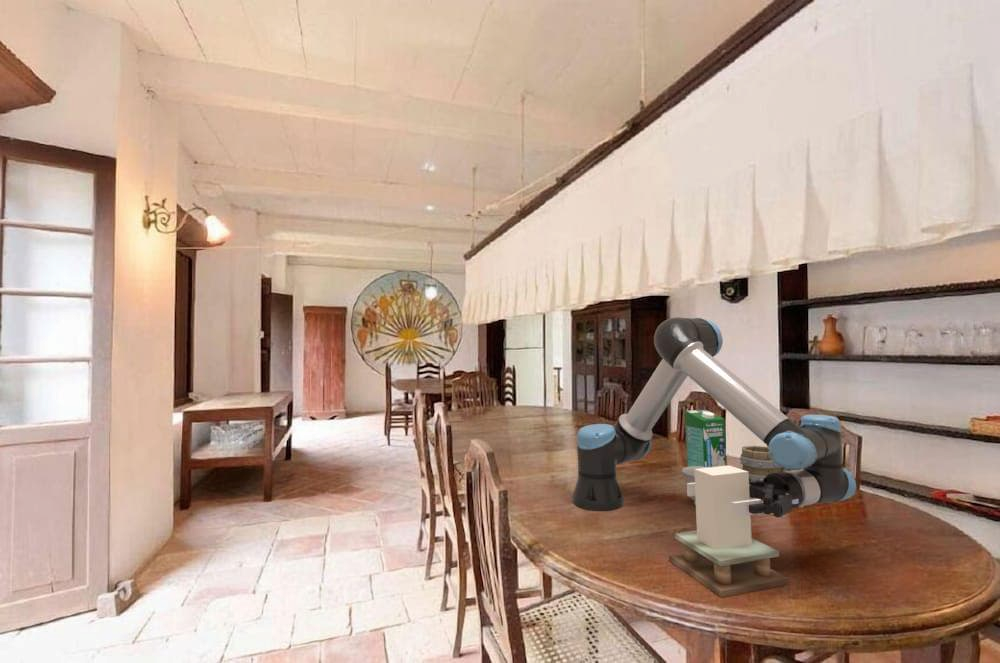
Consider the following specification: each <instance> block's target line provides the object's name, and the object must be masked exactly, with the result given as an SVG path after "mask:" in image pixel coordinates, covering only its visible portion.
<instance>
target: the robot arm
mask: <svg viewBox="0 0 1000 663" xmlns="http://www.w3.org/2000/svg"><path fill="white" fill-rule="evenodd" d="M653 344H654V348H655V349H656V351H657V353H658V354H659V356H660V357H661V358H662V359H661V360H660V362H659V364H658V365H657V366H656V369H655V370H654V371H653V372H652V375H651V376H650V377H649V380H648V381H647V383H646V384H645V385H644V387H643V389H642V390H641V392H640V394H639V395H638V397H637V398H636V399H635V401H634V403H633V404H632V406H631V407H630V409H629V410H628V411H627V413H623V414H621V415H620V416H619V417H618V419H617V420H616V422H615V424H613V425H611V424H609V423H608V424H607V423H596V424H588V425H585V426H583V427H581V428H580V429H579V430H578V432H577V433H576V434H577V436H576V438H577V439H576V446H577V448H576V450H577V471H578V472H577V475H578V476H577V477H578V478H577V480H576V482H575V483H576V484H575V487H574V490H573V495H572V497H573V499H572V500H573V501H572V502H573V504H574V505H576V506H577V507H579V508H582V509H586V510H591V511H612V510H617V509H619V508H621V507H623V505H624V497H623V496H624V495H623V493H622V489H621V487H620V484H619V481H618V479H617V465H619V464H623V463H628V462H634V461H635V462H636V461H638V460H640V459H642V458H644V457H646V456H647V454H648V453H650V450H651V448H652V438H653V431H652V429H653V428H654V426H655V425H656V423H657V422H658V420H659V419H660V417H661V416H662V414H663V413H664V412H665V410H666V409H667V407H668V406H669V404H670V402H671V401H672V400H673V398H674V397H675V395H676V394H677V392H678V391H679V389H680V388H681V387H682V385H683V384H684V382H685V380H686V379H687V378H688V377H689V378H690V379H691V380H692V381H693V382H694V383H696V385H698V386H699V387H700V388H702V389H703V391H704V392H706V393H707V394H708V395H710V397H711V398H712V399H714V400H715V401H716V402H717V403H718V404H719V405H721V406H722V407H723V408H724V409H725V410H726V411H727V412H729V413H730V414H731V415H732V417H734V418H736V419H737V421H739V422H740V423H741V424H742V425H743V426H745V427H746V428H747V429H748V430H749V431H750V432H751V433H752V434H754V435H755V436H756V437H757V438H758V439H760V441H762V442H763V443H764V444H765V445H766V447H769V453H770V455H771V457H772V459H773V461H774V462H775V463H776V464H778V465H779V466H781V467H783V468H786V469H788V471H785V472H781V471H779V472H776V473H770V474H768V475H767V476H766V477H765V479H764V480H763V481H759V480H756V481H751V479H750V478H749V495H750V500H745V501H737V502H732V516H733V517H741V516H749V515H750V516H754V515H763V514H764V515H766V516H767V515H771V514H772V515H773V517H775V518H782V517H783V516H784V515H785V514H787V513H788V512H789V511H791V510H792V509H796V508H804V506H810V505H816V504H825V503H827V504H828V503H838V502H840V501H845V500H848V499H850V498H852V497H853V496H854V495H855V493H856V490H857V483H856V480H855V479H854V477H853V474H852V473H851V472H850V471H849V469H847V468H845V467H844V466H843V446H842V434H843V431H842V429H841V421H840V420H839V418H837V417H836V416H833V415H827V414H826V415H825V414H804V415H802V416H801V418H800V425H797V423H795V422H794V421H793V420H791V419H790V418H789V417H788V416H787V415H785V414H784V413H783V412H782V411H781V410H779V409H778V408H777V407H776V406H774V405H773V404H772V403H771V402H769V401H768V400H767V399H765V398H764V397H763V396H762V395H761V394H759V393H758V392H757V391H756V390H754V388H752V387H751V386H750V385H748V384H747V383H746V382H745V381H743V380H742V379H741V378H740V377H739V376H737V375H736V374H735V373H733V372H732V371H731V370H730V369H729V368H727V367H726V366H725V365H723V364H722V363H721V362H720V361H718V360H717V359H716V358H715V356H717V355H718V354H719V352H720V351H721V349H722V347H723V336H722V331H721V329H720V328H719V326H718V325H717V324H716V323H714V322H713V321H711V320H709V319H706V318H705V319H704V318H702V317H691V318H690V317H677V316H676V317H670V318H668V319H666V320H663V321H662V322H661V323H660V324H659V325H658V326H657V328H656V329H655V333H654V335H653ZM686 495H687V497H689V496H695V482H694V483H687V489H686Z"/></svg>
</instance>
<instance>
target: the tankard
mask: <svg viewBox="0 0 1000 663" xmlns="http://www.w3.org/2000/svg"><path fill="white" fill-rule="evenodd" d="M741 452H742V453H741V454H740V457H739V460H740V464H741V465H742V467H741V469H742V470H745V471H748V473H749V478H750V479H751V481H756V480H759V481H763V480H764V479H765V477H766V476H767V475H768V474H770V473H776V472H785V471H789V469H786V468H783V467H781V466H779V465H778V464H776V463H775V462H774V461H773V459H772V457H771V455H770V453H769V447H768V446H762V445H745V446H742V447H741Z"/></svg>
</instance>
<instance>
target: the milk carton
mask: <svg viewBox="0 0 1000 663" xmlns="http://www.w3.org/2000/svg"><path fill="white" fill-rule="evenodd" d="M684 416H685V441H686V442H685V443H686V444H685V445H686V463H687V464H686V465H687V466H686V467H691V466H702V467H718V466H728V464H727V446H726V444H727V443H726V425H725V424H726V423H725V422H726V421H725V418H724V417H721V416H719V415H718V414H716V413H714V412H711V411H710V410H708V409H695V410H694V409H693V410H692V409H691V410H685V411H684Z"/></svg>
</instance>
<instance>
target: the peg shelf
mask: <svg viewBox="0 0 1000 663" xmlns="http://www.w3.org/2000/svg"><path fill="white" fill-rule="evenodd" d="M674 539H676V540H677V541H678V542H681V543H682V552H681V553H674V554H669V555H668V560H669V562H670V563H672V564H674V566H676V567H677V568H679V569H680V570H681V571H683V572H685V573H686V574H688V575H689V576H691V578H693V579H695V580H696V581H697V582H698V583H700V584H701V585H702V586H704V587H706V588H707V589H709V590H710V592H711V591H712V592H713V593H714V594H716V595H717V596H718V597H720V598H725V597H731V596H736V595H742V594H746V593H752V592H757V591H763V590H767V589H772V588H779V587H783V586H787V585H790V584H789V583H790V582H789V578H788V577H787V576H785V575H783V574H781V573H779V572H778V571H776V570H774V569H772V568H771V558H772V559H773V558H777V557H780V551H779V550H777V549H775V548H772V547H771V546H769V545H767V544H765V543H763V542H761V541H759V540H756V539H755V538H753V537H751V539H752V544H750V545H743V546H737V547H731V548H725V549H719V550H715V549H713V548H711V547H709V546H708V545H706V544H704V543H703V542H701V541H699V540H697V529H696V530H691V531H690V530H689V531H683V532H675V533H674Z"/></svg>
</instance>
